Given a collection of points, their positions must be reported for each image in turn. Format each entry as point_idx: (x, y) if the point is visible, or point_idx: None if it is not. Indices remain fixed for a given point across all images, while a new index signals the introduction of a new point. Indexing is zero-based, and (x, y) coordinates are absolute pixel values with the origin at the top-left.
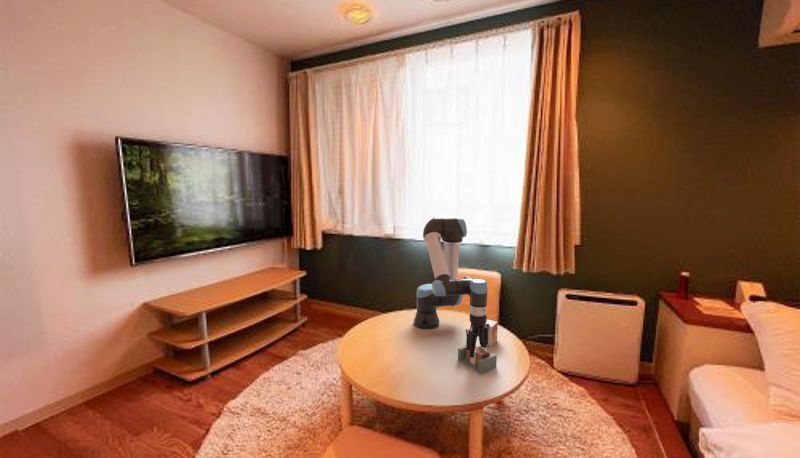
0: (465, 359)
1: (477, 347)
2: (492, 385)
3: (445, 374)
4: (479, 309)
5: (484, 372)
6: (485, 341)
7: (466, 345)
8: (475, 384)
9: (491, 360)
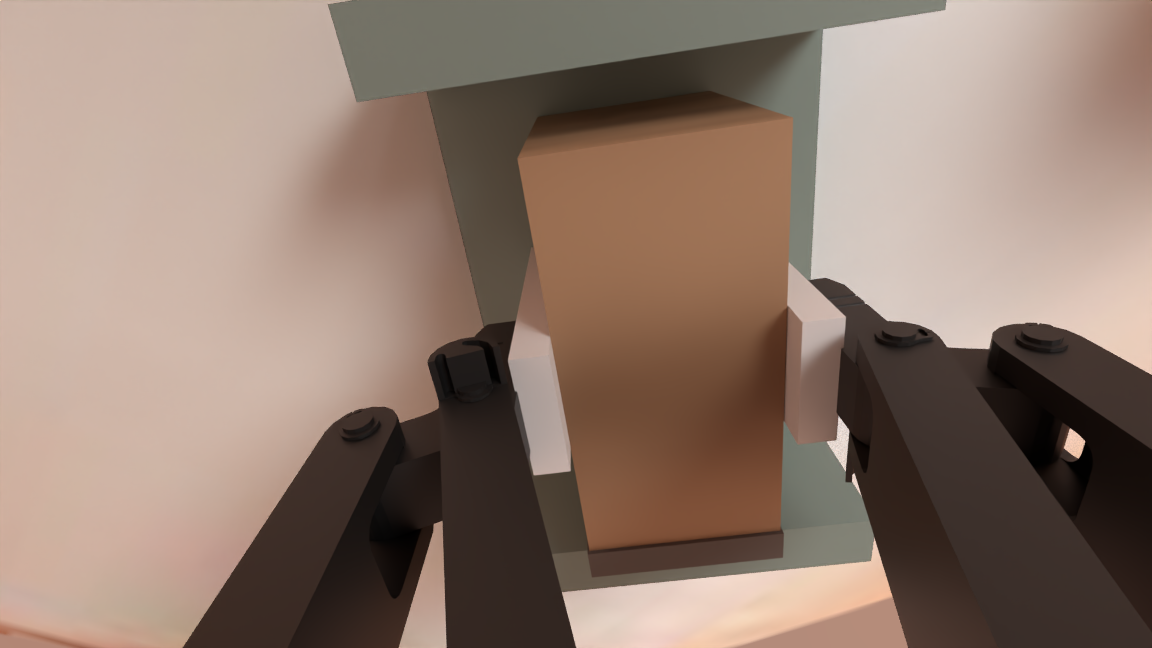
0: (515, 128)
1: (755, 308)
2: None
3: (72, 270)
4: None
5: None
6: (1037, 442)
7: (288, 492)
8: None
9: None
